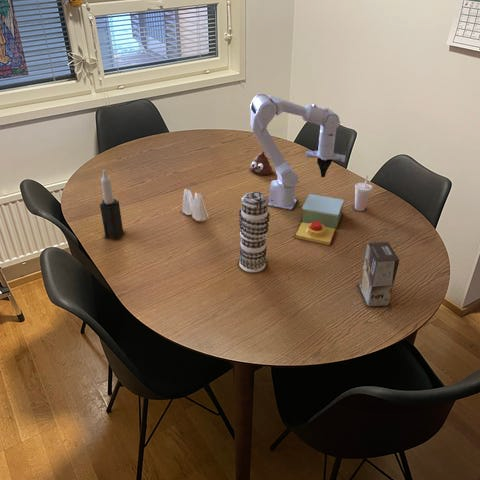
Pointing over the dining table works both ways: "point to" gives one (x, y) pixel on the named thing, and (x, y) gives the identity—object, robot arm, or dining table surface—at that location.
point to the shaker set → (194, 206)
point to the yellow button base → (315, 234)
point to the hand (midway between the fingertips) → (323, 176)
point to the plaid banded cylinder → (253, 231)
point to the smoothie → (362, 195)
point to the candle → (110, 211)
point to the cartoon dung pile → (261, 165)
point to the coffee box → (378, 273)
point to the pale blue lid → (323, 204)
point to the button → (316, 226)
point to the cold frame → (322, 218)
